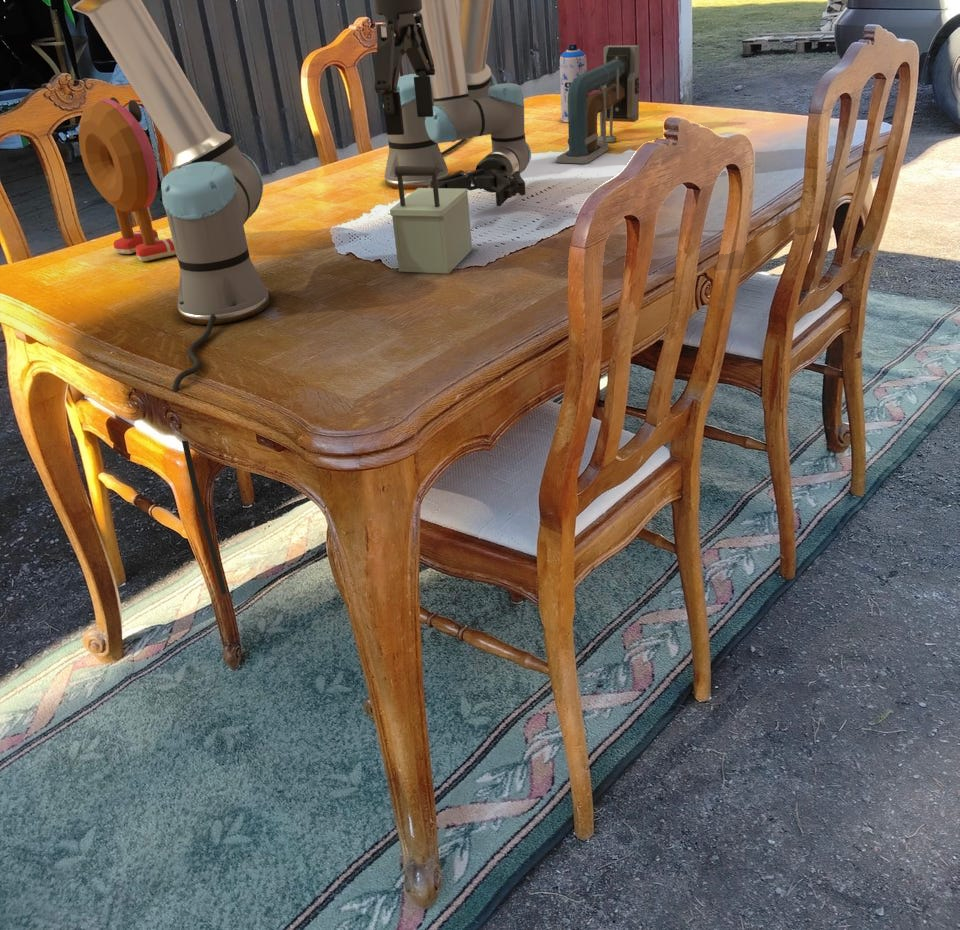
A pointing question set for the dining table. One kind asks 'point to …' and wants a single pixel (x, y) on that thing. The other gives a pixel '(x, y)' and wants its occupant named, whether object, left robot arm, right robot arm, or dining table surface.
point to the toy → (123, 172)
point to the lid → (425, 194)
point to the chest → (433, 240)
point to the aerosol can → (570, 74)
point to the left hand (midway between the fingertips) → (411, 125)
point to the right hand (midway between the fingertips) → (464, 198)
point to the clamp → (602, 103)
